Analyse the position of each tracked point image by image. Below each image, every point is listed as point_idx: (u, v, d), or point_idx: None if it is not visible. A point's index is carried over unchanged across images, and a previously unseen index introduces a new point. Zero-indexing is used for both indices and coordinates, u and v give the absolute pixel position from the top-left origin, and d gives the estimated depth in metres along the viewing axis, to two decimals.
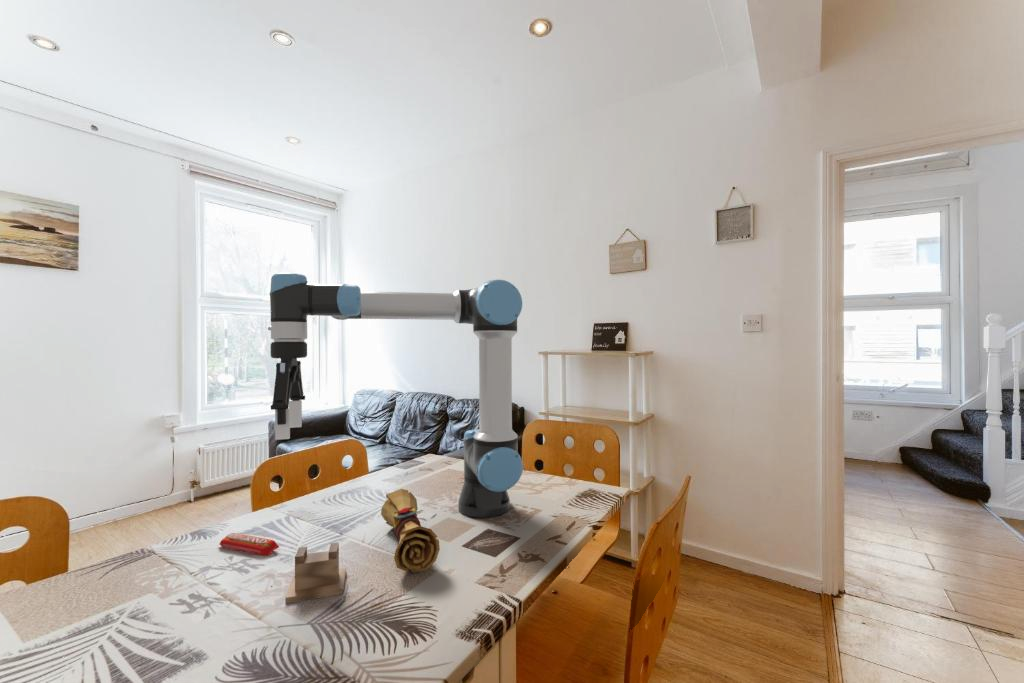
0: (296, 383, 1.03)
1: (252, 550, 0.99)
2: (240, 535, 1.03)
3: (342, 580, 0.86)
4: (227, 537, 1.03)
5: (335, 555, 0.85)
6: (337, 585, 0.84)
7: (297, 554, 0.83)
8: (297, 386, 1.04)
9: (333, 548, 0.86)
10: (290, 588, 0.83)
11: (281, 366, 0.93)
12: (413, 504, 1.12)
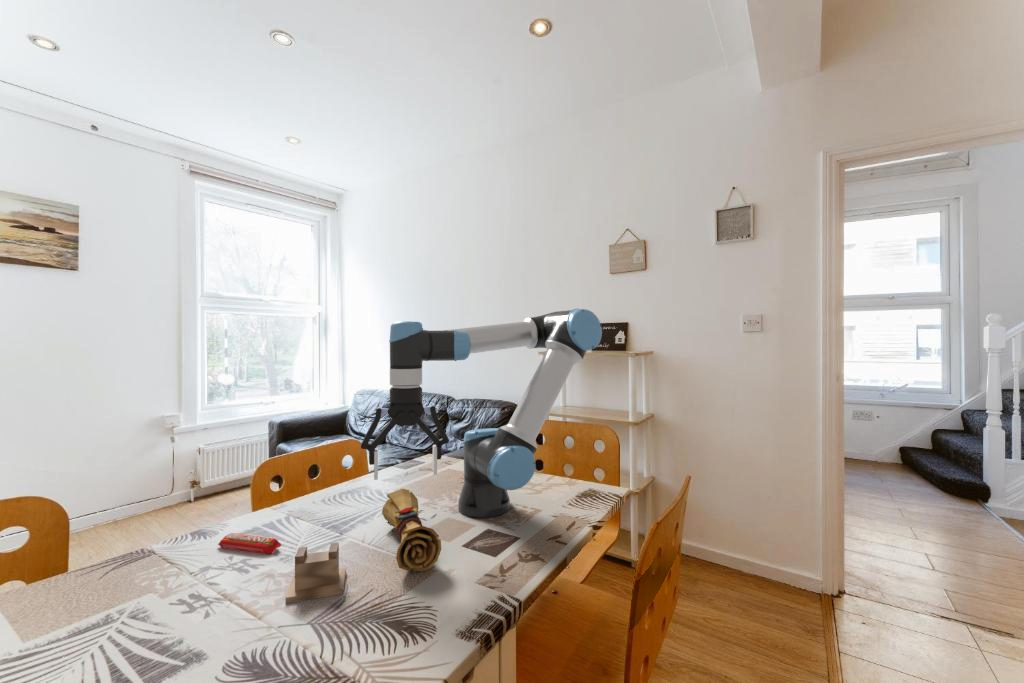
0: (422, 428, 1.02)
1: (254, 549, 0.99)
2: (240, 535, 1.03)
3: (342, 580, 0.86)
4: (226, 537, 1.03)
5: (335, 555, 0.85)
6: (337, 585, 0.84)
7: (297, 554, 0.83)
8: None
9: (333, 548, 0.86)
10: (290, 588, 0.83)
11: None
12: (414, 504, 1.12)
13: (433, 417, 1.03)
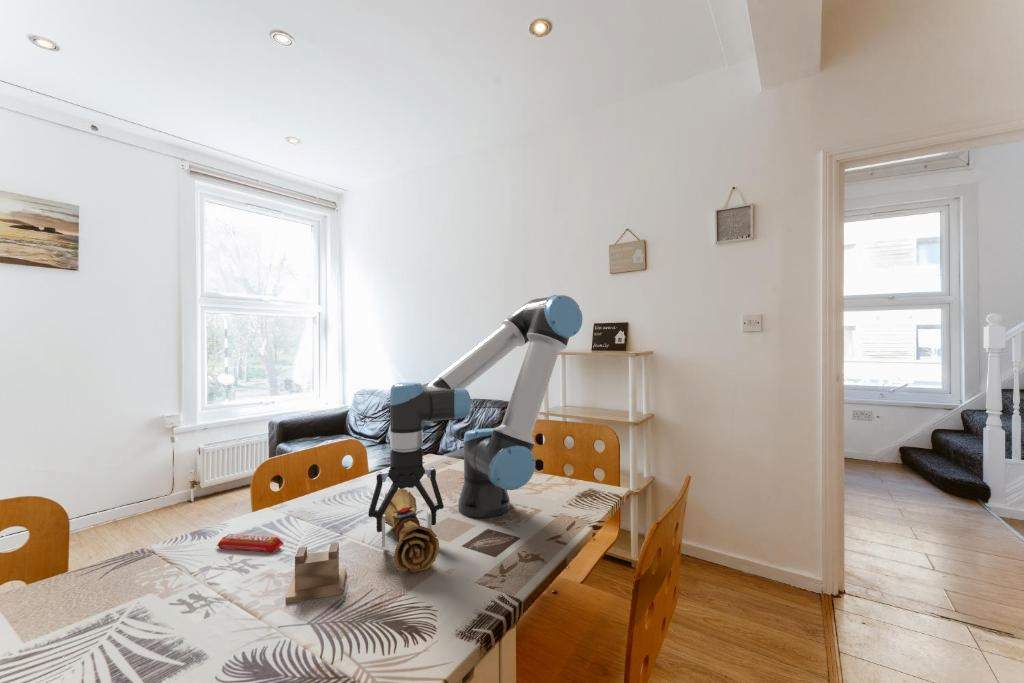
0: None
1: (257, 548, 1.00)
2: (240, 535, 1.03)
3: (342, 580, 0.86)
4: (225, 538, 1.02)
5: (335, 555, 0.85)
6: (337, 585, 0.84)
7: (297, 554, 0.83)
8: None
9: (333, 548, 0.86)
10: (290, 588, 0.83)
11: None
12: (412, 504, 1.12)
13: (432, 481, 1.03)
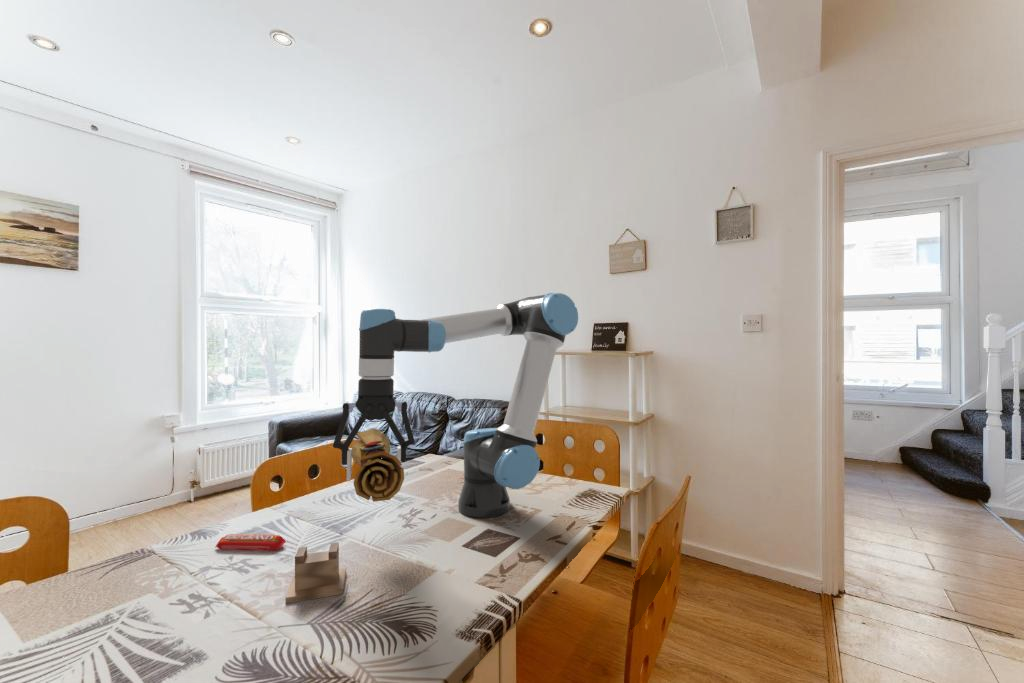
0: (389, 425, 0.96)
1: (259, 547, 1.00)
2: (239, 535, 1.03)
3: (342, 580, 0.86)
4: (224, 538, 1.02)
5: (335, 555, 0.85)
6: (337, 585, 0.84)
7: (297, 554, 0.83)
8: (391, 429, 0.96)
9: (333, 548, 0.86)
10: (290, 588, 0.83)
11: None
12: (385, 444, 1.06)
13: (403, 414, 0.97)
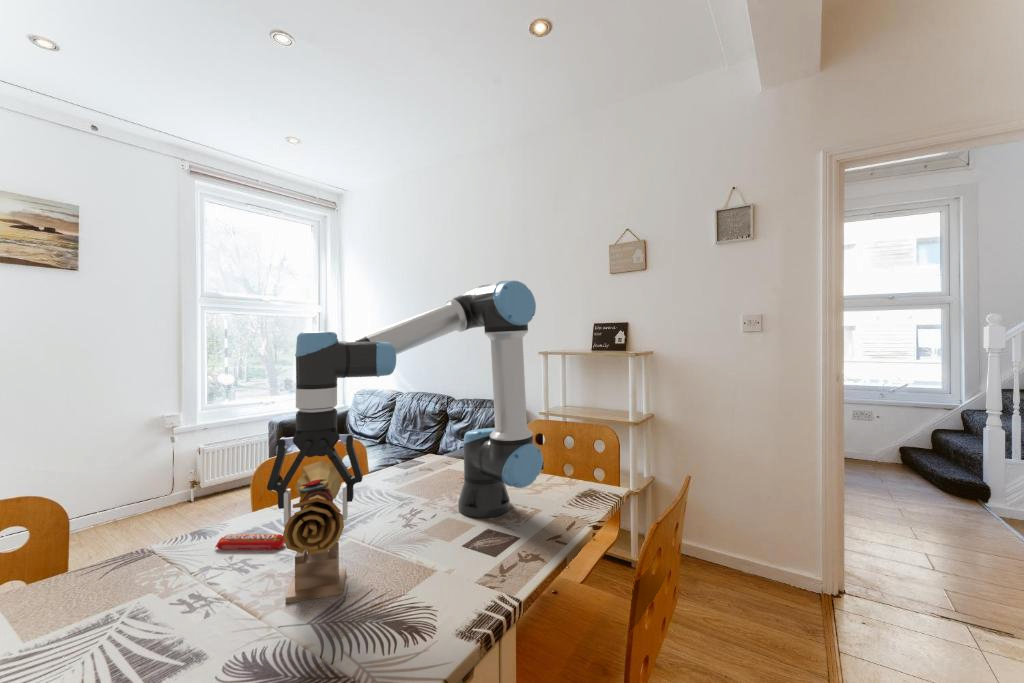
0: (332, 461, 0.86)
1: (260, 546, 1.01)
2: (240, 535, 1.03)
3: (342, 580, 0.86)
4: (224, 538, 1.02)
5: (335, 555, 0.85)
6: (337, 585, 0.84)
7: (297, 554, 0.83)
8: None
9: (333, 548, 0.86)
10: (290, 588, 0.83)
11: None
12: (333, 478, 0.95)
13: (348, 448, 0.86)
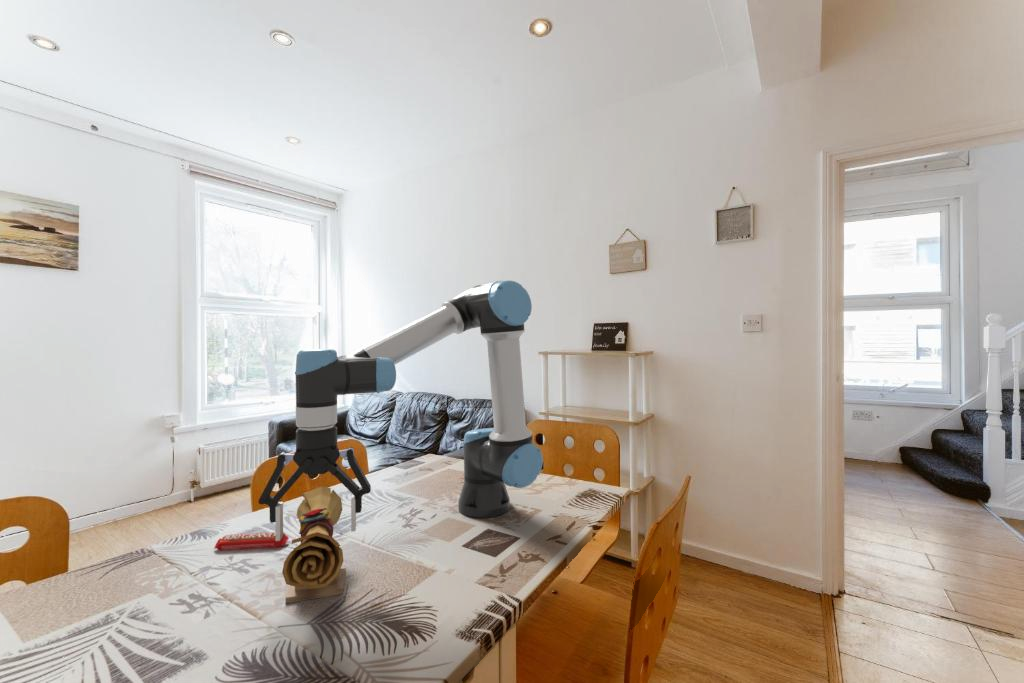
0: None
1: (263, 544, 1.01)
2: (239, 535, 1.03)
3: (342, 580, 0.86)
4: (224, 539, 1.02)
5: None
6: (337, 585, 0.84)
7: None
8: None
9: None
10: (290, 588, 0.83)
11: None
12: (334, 504, 0.95)
13: (350, 463, 0.86)
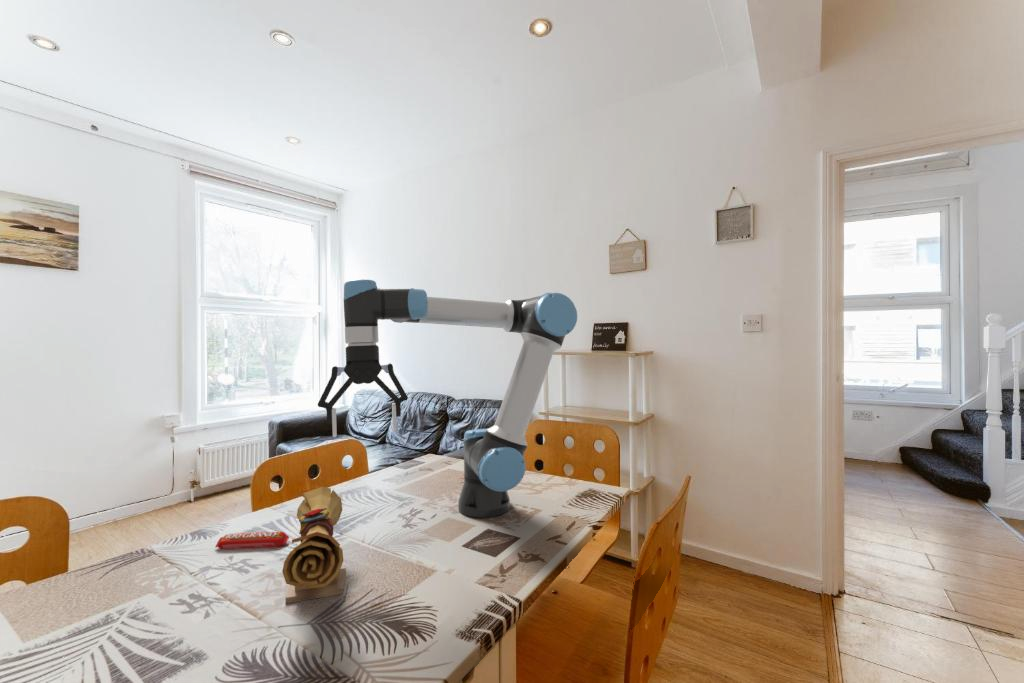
0: None
1: (264, 544, 1.02)
2: (240, 534, 1.03)
3: (342, 580, 0.86)
4: (225, 538, 1.02)
5: None
6: (337, 585, 0.84)
7: None
8: None
9: None
10: (290, 588, 0.83)
11: None
12: (334, 505, 0.95)
13: (391, 375, 1.04)
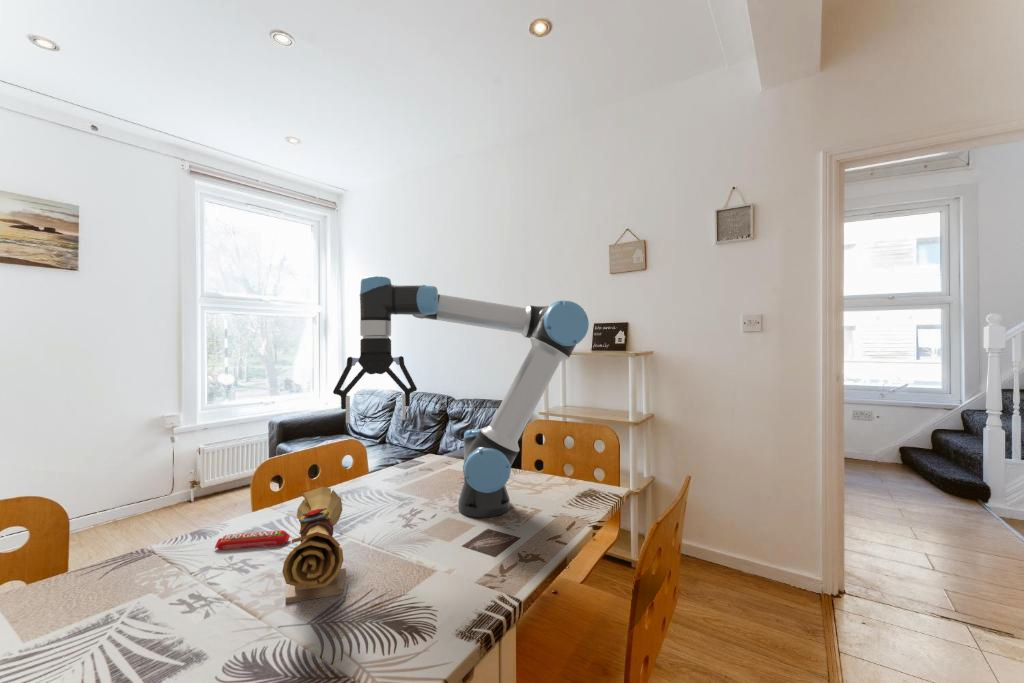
0: (391, 377, 1.10)
1: (265, 543, 1.02)
2: (240, 534, 1.03)
3: (342, 580, 0.86)
4: (224, 538, 1.02)
5: None
6: (337, 585, 0.84)
7: None
8: None
9: None
10: (290, 588, 0.83)
11: None
12: (334, 505, 0.95)
13: (401, 366, 1.11)
